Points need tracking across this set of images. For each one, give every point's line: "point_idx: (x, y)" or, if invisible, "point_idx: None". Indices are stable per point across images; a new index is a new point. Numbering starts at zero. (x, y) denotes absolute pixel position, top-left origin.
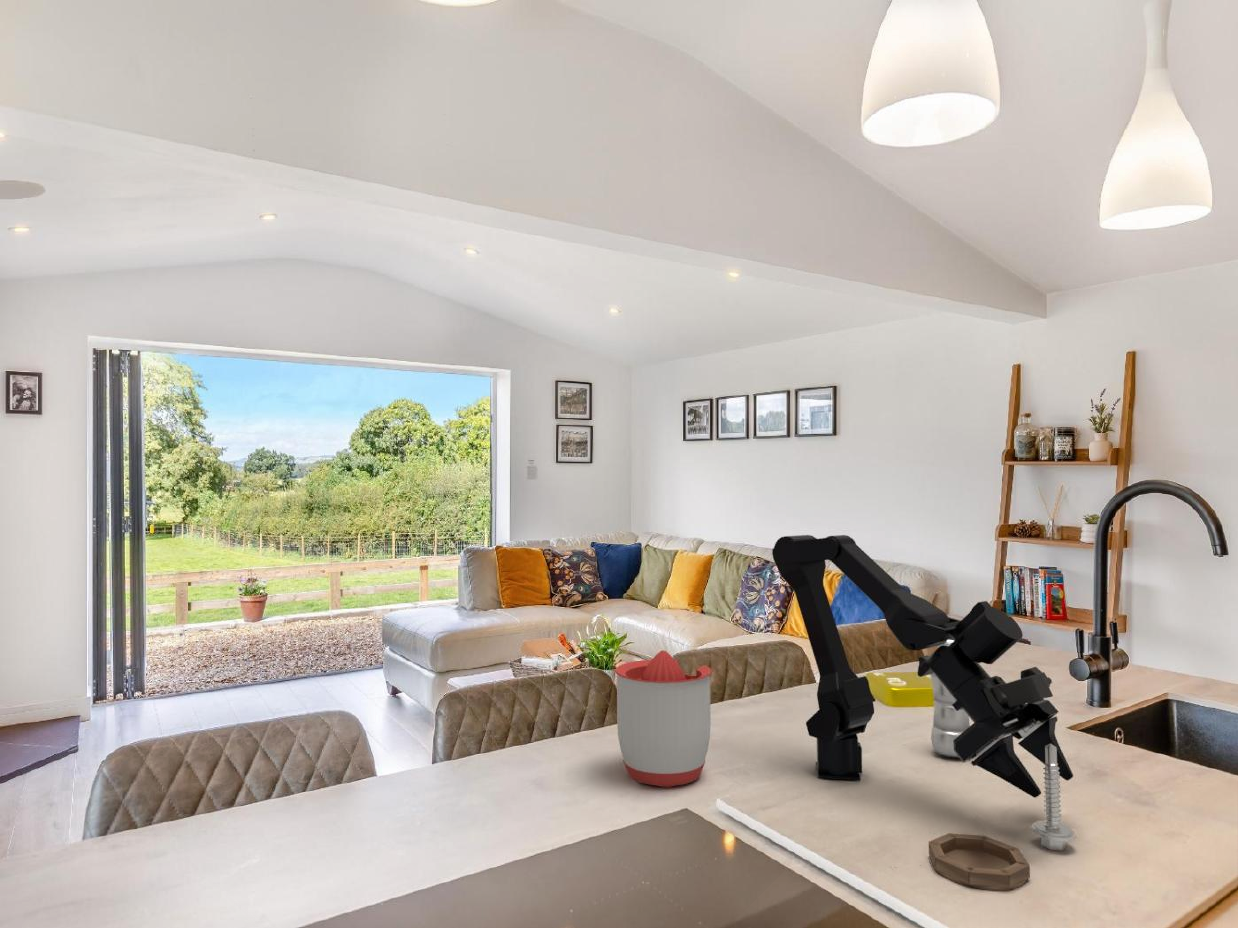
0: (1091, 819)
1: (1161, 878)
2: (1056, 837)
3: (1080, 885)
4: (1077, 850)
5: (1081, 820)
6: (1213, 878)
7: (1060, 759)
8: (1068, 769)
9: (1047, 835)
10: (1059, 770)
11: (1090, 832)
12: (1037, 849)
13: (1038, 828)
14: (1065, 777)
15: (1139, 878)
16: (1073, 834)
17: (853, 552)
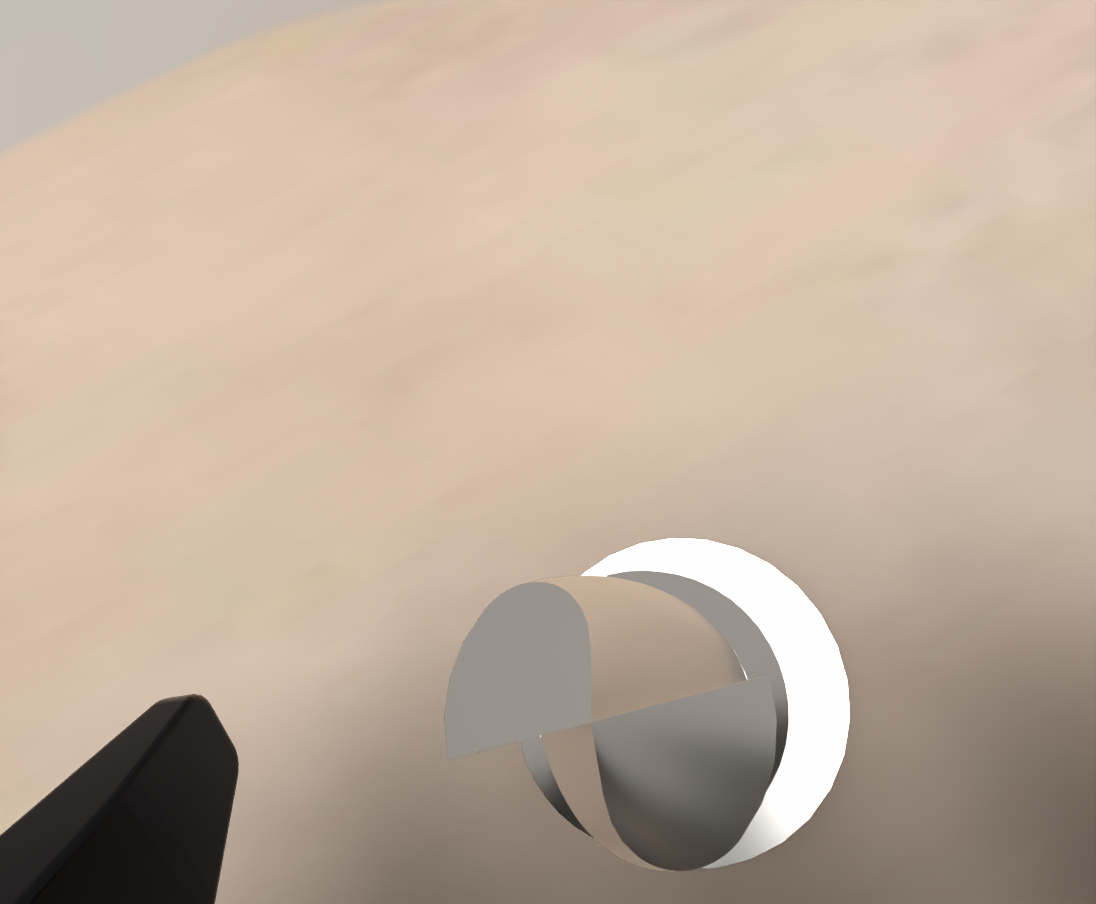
0: None
1: (537, 144)
2: (798, 592)
3: (1060, 274)
4: None
5: None
6: (318, 50)
7: (57, 900)
8: (144, 752)
9: (829, 653)
10: (181, 877)
11: (254, 685)
12: None
13: (820, 748)
14: (221, 782)
15: (642, 188)
16: (625, 556)
17: None
